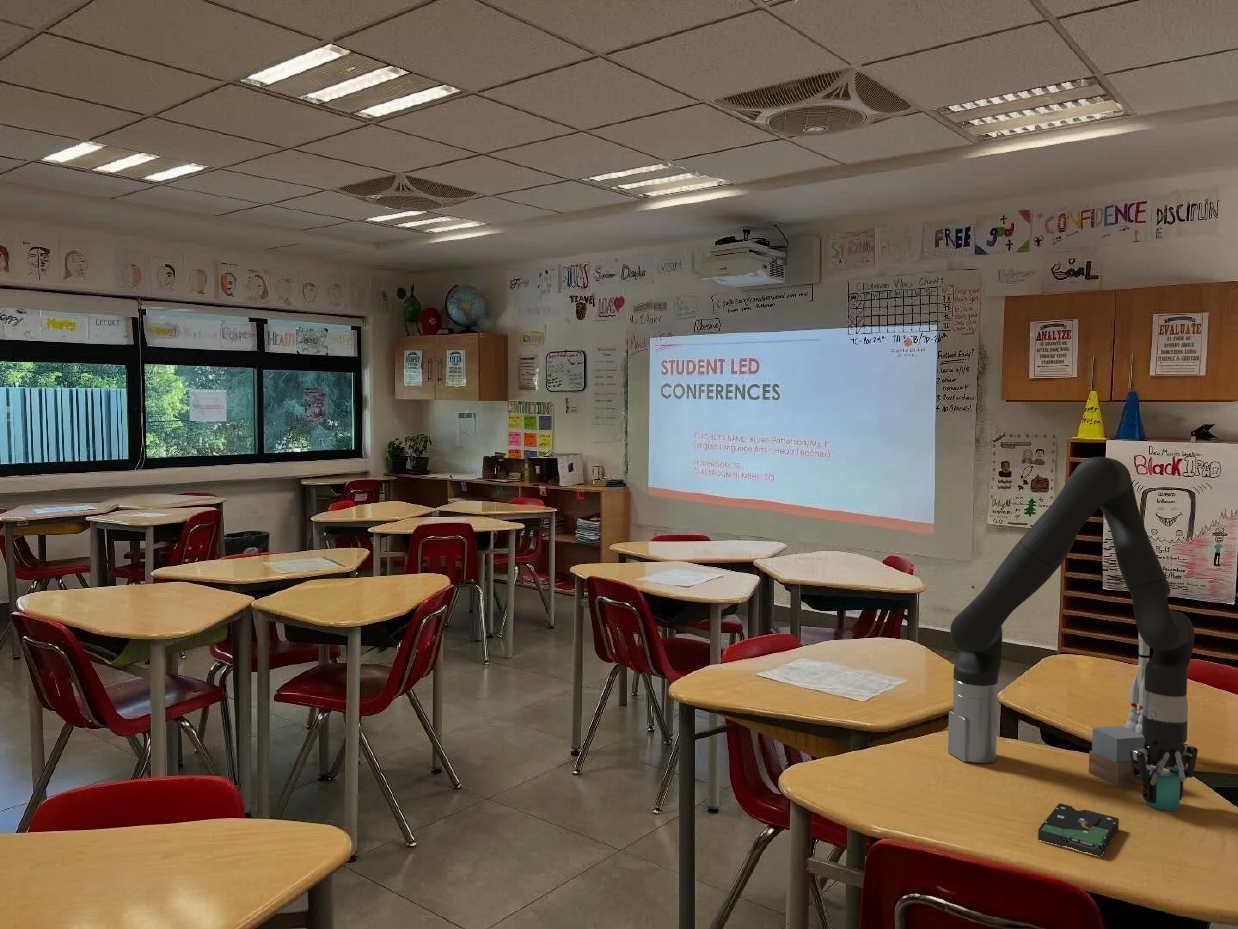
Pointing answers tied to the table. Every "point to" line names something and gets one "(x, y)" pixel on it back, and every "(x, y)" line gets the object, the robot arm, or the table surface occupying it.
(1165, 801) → the teal upright cylinder
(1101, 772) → the base block
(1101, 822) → the disk drive
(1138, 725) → the rocket model
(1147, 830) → the table surface
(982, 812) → the table surface
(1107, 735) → the middle block
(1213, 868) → the table surface
